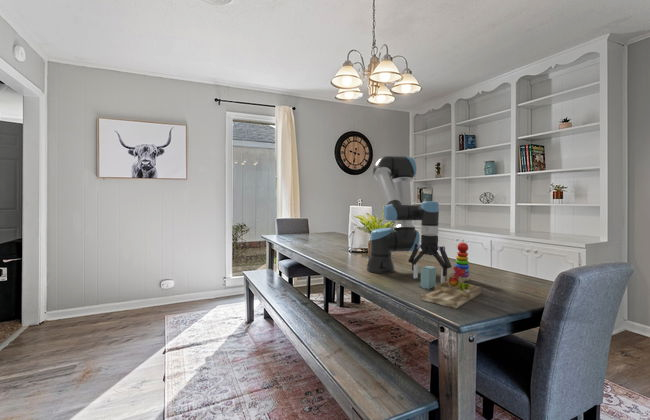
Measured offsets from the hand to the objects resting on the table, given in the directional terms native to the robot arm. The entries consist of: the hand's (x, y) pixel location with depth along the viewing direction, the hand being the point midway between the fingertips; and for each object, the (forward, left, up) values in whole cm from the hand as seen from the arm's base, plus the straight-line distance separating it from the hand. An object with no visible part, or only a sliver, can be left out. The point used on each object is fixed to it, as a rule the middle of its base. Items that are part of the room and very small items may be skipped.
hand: (428, 280), depth 159 cm
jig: (+14, -7, -3) cm, 15 cm away
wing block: (0, 0, -3) cm, 3 cm away
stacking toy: (+6, +24, -3) cm, 25 cm away
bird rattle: (+14, -1, -2) cm, 14 cm away
